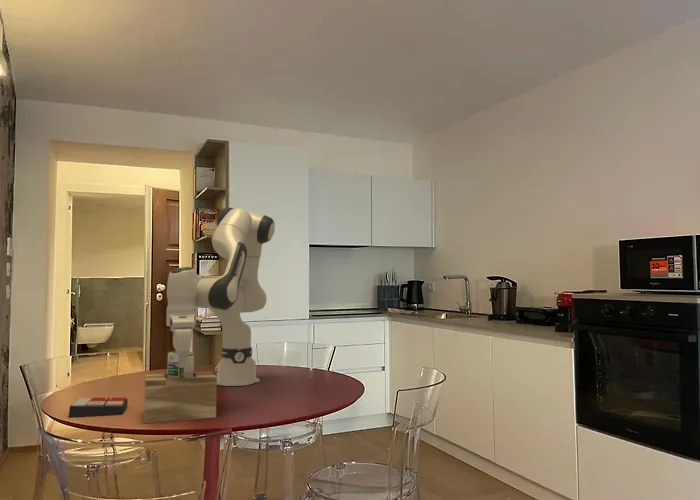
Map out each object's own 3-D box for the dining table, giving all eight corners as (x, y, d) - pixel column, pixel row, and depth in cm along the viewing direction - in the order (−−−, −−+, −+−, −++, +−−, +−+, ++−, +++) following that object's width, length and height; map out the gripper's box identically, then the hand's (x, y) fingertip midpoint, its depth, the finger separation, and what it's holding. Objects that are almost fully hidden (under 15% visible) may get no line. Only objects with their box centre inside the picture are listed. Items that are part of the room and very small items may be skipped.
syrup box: (166, 400, 164) (166, 352, 165) (179, 396, 170) (179, 349, 170) (181, 402, 162) (181, 353, 162) (194, 397, 167) (194, 350, 168)
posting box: (144, 412, 168) (145, 373, 169) (210, 407, 175) (210, 369, 176) (144, 423, 155) (145, 381, 156) (216, 417, 162) (216, 376, 163)
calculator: (123, 403, 166) (69, 404, 162) (122, 418, 166) (68, 418, 162) (128, 396, 176) (77, 396, 173) (127, 409, 176) (76, 410, 172)
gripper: (168, 317, 175) (168, 360, 175) (172, 322, 156) (171, 370, 156) (189, 317, 178) (188, 359, 177) (195, 321, 159) (194, 369, 158)
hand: (180, 365), depth 166 cm, fingers closed on syrup box, 8 cm apart
